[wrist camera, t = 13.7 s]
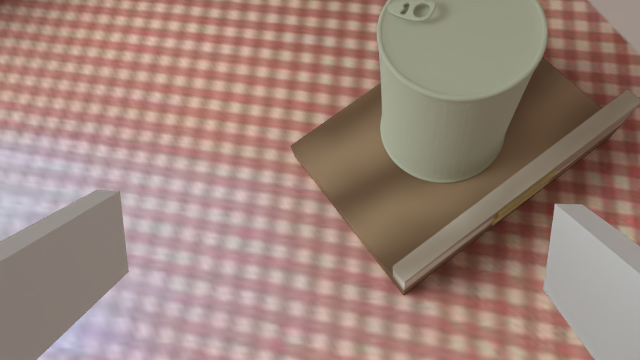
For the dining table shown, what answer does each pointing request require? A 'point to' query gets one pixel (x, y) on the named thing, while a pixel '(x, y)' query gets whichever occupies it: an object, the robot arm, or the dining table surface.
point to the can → (454, 80)
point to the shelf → (458, 197)
